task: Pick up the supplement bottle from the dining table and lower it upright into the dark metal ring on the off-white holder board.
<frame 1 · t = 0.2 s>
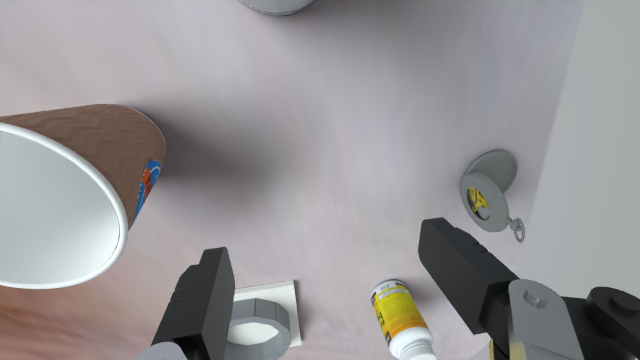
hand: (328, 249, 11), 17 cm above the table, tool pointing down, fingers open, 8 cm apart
pocket watch: (475, 175, 33), on the table
supplement bottle: (386, 290, 40), on the table
coffee cup: (126, 141, 24), on the table
ring holder: (251, 320, 37), on the table
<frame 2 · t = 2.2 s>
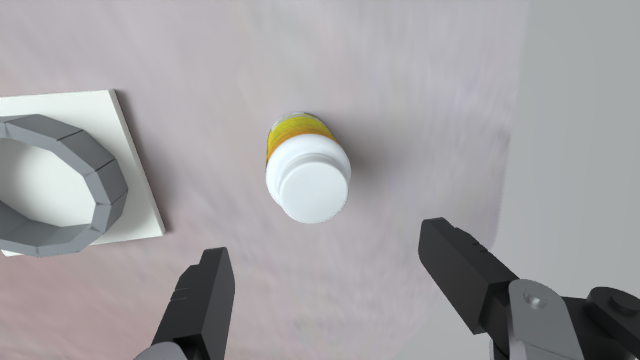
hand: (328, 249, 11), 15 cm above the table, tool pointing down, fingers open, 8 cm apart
supplement bottle: (298, 141, 24), on the table
ring holder: (59, 177, 22), on the table
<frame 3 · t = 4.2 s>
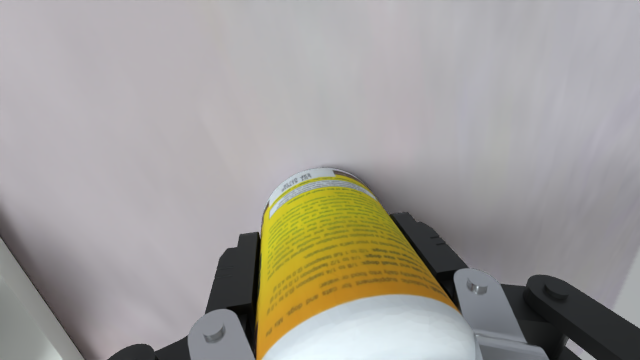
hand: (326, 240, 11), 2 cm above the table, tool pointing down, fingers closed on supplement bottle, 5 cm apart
supplement bottle: (318, 213, 13), on the table, touching gripper
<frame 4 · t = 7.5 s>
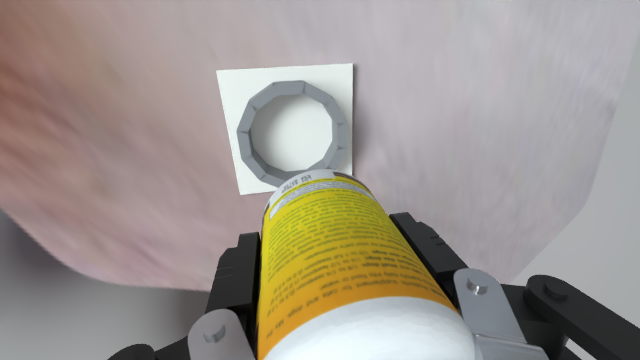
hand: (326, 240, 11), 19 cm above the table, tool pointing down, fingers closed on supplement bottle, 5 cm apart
supplement bottle: (318, 214, 13), point 17 cm above the table, touching gripper
ring holder: (292, 131, 29), on the table
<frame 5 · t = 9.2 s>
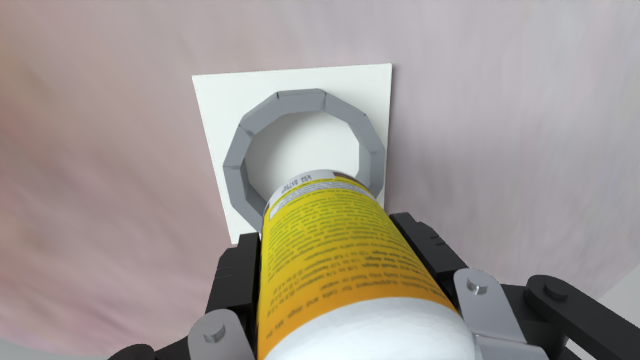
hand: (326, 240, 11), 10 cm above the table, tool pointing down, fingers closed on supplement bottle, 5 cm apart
supplement bottle: (318, 214, 13), point 8 cm above the table, touching gripper
ring holder: (303, 159, 21), on the table
when the fingers open (5 cm above the table, at t = 10.8 s): supplement bottle drops 2 cm, resting on ring holder.
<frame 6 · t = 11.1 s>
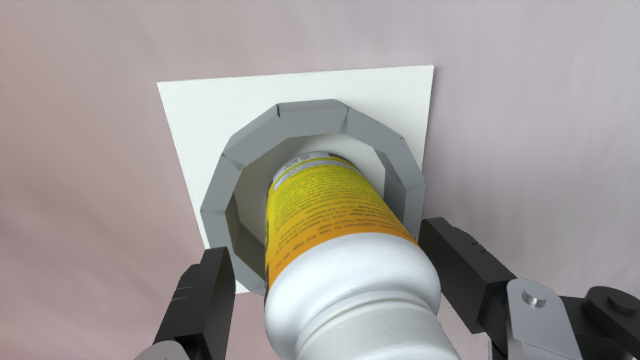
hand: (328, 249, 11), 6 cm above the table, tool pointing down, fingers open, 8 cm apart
supplement bottle: (315, 192, 15), point 1 cm above the table, touching ring holder
ring holder: (311, 189, 16), on the table
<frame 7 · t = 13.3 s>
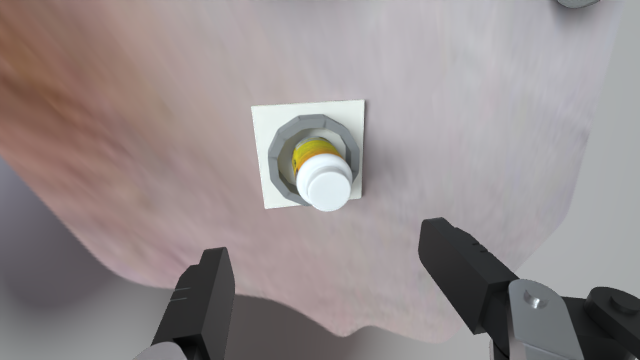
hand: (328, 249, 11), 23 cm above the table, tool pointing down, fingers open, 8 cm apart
supplement bottle: (313, 156, 33), point 1 cm above the table, touching ring holder
ring holder: (311, 155, 34), on the table
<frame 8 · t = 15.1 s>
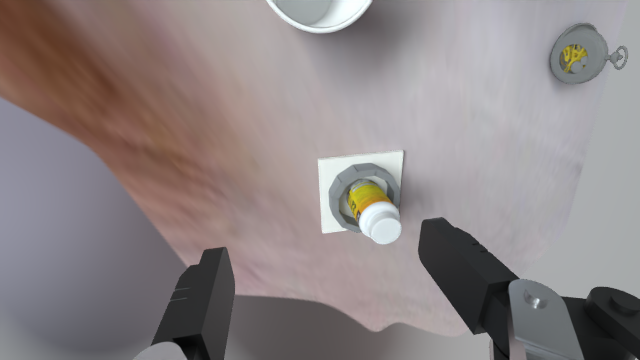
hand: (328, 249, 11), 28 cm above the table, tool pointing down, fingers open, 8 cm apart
pocket watch: (560, 51, 39), on the table
supplement bottle: (361, 193, 42), point 1 cm above the table, touching ring holder
ring holder: (359, 192, 43), on the table
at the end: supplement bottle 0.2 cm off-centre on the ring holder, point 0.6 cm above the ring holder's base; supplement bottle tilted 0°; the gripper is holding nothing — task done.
